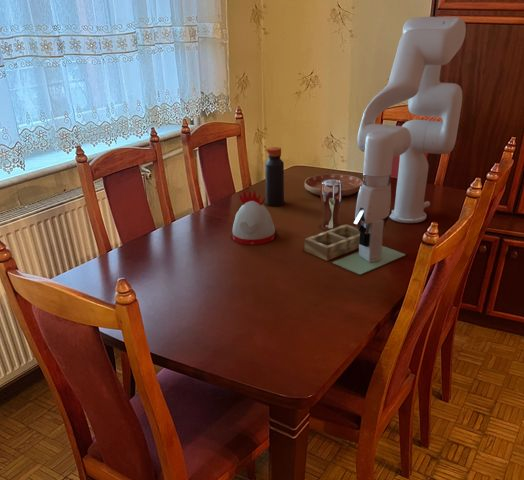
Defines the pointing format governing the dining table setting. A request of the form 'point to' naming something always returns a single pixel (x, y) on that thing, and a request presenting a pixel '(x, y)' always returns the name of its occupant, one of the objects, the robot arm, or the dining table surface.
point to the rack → (333, 242)
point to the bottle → (274, 177)
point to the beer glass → (330, 203)
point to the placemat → (362, 265)
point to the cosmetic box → (373, 242)
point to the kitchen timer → (253, 222)
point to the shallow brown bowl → (348, 182)
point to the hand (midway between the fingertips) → (370, 242)
